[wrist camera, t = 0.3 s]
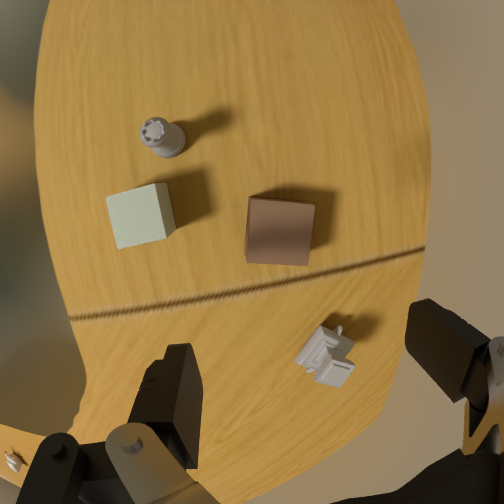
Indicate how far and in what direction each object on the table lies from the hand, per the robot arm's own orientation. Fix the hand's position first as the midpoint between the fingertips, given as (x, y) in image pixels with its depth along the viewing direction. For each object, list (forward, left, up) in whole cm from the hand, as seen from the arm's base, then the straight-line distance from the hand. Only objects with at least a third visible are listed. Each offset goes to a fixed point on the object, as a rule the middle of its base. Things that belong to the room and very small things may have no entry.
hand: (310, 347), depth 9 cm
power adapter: (+82, -77, -27) cm, 116 cm away
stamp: (+17, +12, -27) cm, 34 cm away
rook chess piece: (-10, -11, -27) cm, 31 cm away
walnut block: (0, +3, -27) cm, 27 cm away
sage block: (-1, -13, -27) cm, 30 cm away
